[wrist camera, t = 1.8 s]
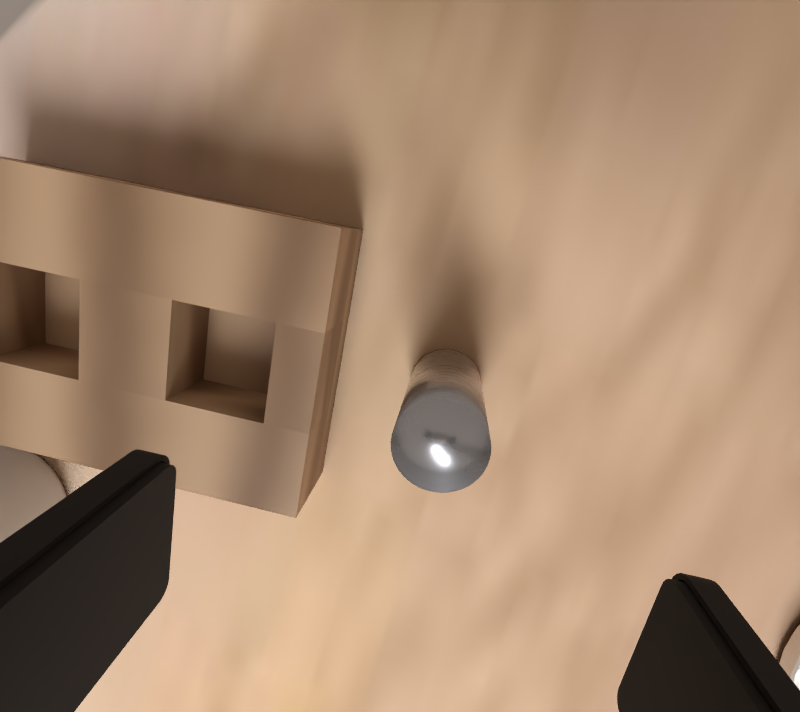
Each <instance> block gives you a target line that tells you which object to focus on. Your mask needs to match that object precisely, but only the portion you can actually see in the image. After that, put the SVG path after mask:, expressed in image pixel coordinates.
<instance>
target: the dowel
mask: <svg viewBox="0 0 800 712" xmlns="http://www.w3.org/2000/svg"><path fill="white" fill-rule="evenodd" d="M391 452H392V456H393V460H394V462H395V464H396V466H397V468H398V470H399V471H400V472H401V474H402V475H403V476H404V477H405V478H406V479H407V480H408V481H410V482H411V483H412V484H414V485H416V486H418V487H420V488H422V489H425V490H428V491H432V492H440V493H445V492H453V491H457V490H461V489H463V488H465V487H467V486H469V485H471V484H472V483H474V482H475V481H476V480H477V479H478V478H479V477H480V476H481V475H482V473H483V472H484V471H485V469H486V467H487V465H488V462H489V460H490V455H491V440H490V434H489V428H488V422H487V416H486V410H485V404H484V398H483V392H482V386H481V380H480V375H479V372H478V369H477V367H476V365H475V364H474V363H473V361H472V360H471V359H470V358H468V357H467V356H466V355H464V354H462V353H460V352H458V351H455V350H449V349H442V350H436V351H433V352H431V353H429V354H427V355H425V356H424V357H423V358H422V359H421V360H420V361H419V362H418V363H417V365H416V366H415V368H414V370H413V373H412V376H411V379H410V382H409V385H408V388H407V391H406V394H405V397H404V400H403V403H402V406H401V409H400V412H399V415H398V418H397V421H396V424H395V427H394V430H393V433H392V438H391Z"/></svg>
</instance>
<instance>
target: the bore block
mask: <svg viewBox="0 0 800 712" xmlns="http://www.w3.org/2000/svg"><path fill="white" fill-rule="evenodd" d="M362 233H363V230H361V229H356V228H351V227H346V226H341V225H336V224H331V223H327V222H322V221H317V220H312V219H307V218H302V217H297V216H292V215H287V214H282V213H278V212H273V211H268V210H263V209H258V208H253V207H248V206H243V205H238V204H233V203H229V202H224V201H219V200H214V199H209V198H204V197H199V196H194V195H189V194H184V193H180V192H175V191H170V190H165V189H160V188H155V187H150V186H145V185H140V184H136V183H131V182H126V181H121V180H116V179H111V178H106V177H101V176H96V175H91V174H87V173H82V172H77V171H72V170H67V169H62V168H57V167H52V166H47V165H42V164H38V163H33V162H28V161H23V160H17V159H11V158H6V157H0V445H3V446H7V447H11V448H15V449H19V450H23V451H27V452H31V453H35V454H39V455H43V456H47V457H52V458H56V459H60V460H64V461H68V462H72V463H76V464H80V465H84V466H88V467H92V468H96V469H100V470H105V469H107V468H108V467H110V466H111V465H113V464H114V463H115V462H117V461H118V460H120V459H121V458H123V457H124V456H126V455H127V454H128V453H130V452H131V451H133V450H135V449H139V450H144V451H148V452H153V453H157V454H161V455H166V456H167V457H168V458H169V461H170V465H174V466H175V468H176V486H175V488H177V489H181V490H185V491H189V492H193V493H197V494H201V495H205V496H209V497H213V498H217V499H221V500H225V501H230V502H234V503H238V504H242V505H246V506H250V507H254V508H258V509H262V510H266V511H270V512H274V513H278V514H282V515H286V516H290V517H294V518H296V517H297V515H298V514H299V512H300V510H301V508H302V507H303V505H304V503H305V501H306V500H307V498H308V496H309V494H310V493H311V491H312V489H313V488H314V486H315V484H316V482H317V481H318V479H319V477H320V475H321V474H322V471H323V465H324V459H325V453H326V447H327V441H328V435H329V429H330V423H331V417H332V411H333V405H334V400H335V394H336V388H337V382H338V376H339V370H340V364H341V358H342V352H343V346H344V340H345V334H346V328H347V322H348V316H349V311H350V305H351V299H352V293H353V287H354V281H355V275H356V269H357V263H358V257H359V251H360V245H361V239H362Z"/></svg>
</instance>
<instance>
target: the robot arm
mask: <svg viewBox="0 0 800 712" xmlns="http://www.w3.org/2000/svg"><path fill="white" fill-rule="evenodd" d="M175 486H176V468H175V466H174V465H170V461H169V458H168V457H167V456H166V455H161V454H157V453H153V452H148V451H144V450H139V449H135V450H133V451H131V452H130V453H128V454H127V455H126V456H124V457H123V458H121V459H120V460H118V461H117V462H115V463H114V464H113V465H111V466H110V467H108V468H107V469H105V470H104V471H103V472H101V473H100V474H98V475H97V476H95V477H94V478H92V479H91V480H90V481H88V482H87V483H85V484H84V485H82V486H81V487H80V488H78V489H77V490H75V491H74V492H72V493H71V494H70V495H68V496H67V497H65V498H64V499H62V500H61V501H59V502H58V503H57V504H55V505H54V506H52V507H51V508H49V509H48V510H47V511H45V512H44V513H42V514H41V515H39V516H38V517H36V518H35V519H34V520H32V521H31V522H29V523H28V524H26V525H25V526H24V527H22V528H21V529H19V530H18V531H16V532H15V533H13V534H12V535H11V536H9V537H8V538H6V539H5V540H3V541H2V542H1V543H0V712H74V711H75V710H76V709H77V707H78V706H79V705H80V703H81V702H82V701H83V700H84V698H85V697H86V696H87V694H88V693H89V692H90V691H91V689H92V688H93V687H94V685H95V684H96V683H97V682H98V680H99V679H100V678H101V676H102V675H103V674H104V673H105V671H106V670H107V669H108V667H109V666H110V665H111V664H112V662H113V661H114V660H115V658H116V657H117V656H118V655H119V653H120V652H121V651H122V649H123V648H124V647H125V646H126V644H127V643H128V642H129V640H130V639H131V638H132V637H133V635H134V634H135V633H136V631H137V630H138V629H139V628H140V626H141V625H142V624H143V622H144V621H145V620H146V618H147V617H148V616H149V615H150V613H151V612H152V611H153V609H154V608H155V607H156V606H157V604H158V603H159V602H160V600H161V599H162V597H163V595H164V593H165V591H166V588H167V585H168V581H169V569H170V555H171V541H172V528H173V514H174V500H175ZM617 701H618V709H619V712H800V625H799V626H798V627H797V628H796V629H795V631H794V633H793V634H792V636H791V638H790V639H789V641H788V643H787V645H786V646H785V648H784V650H783V653H782V657H781V660H780V663H778V661H777V660H776V659H775V658H774V656H773V655H772V654H771V652H770V651H769V650H768V648H767V647H766V646H765V645H764V643H763V642H762V641H761V639H760V638H759V637H758V635H757V634H756V633H755V632H754V630H753V629H752V628H751V626H750V625H749V624H748V622H747V621H746V620H745V619H744V617H743V616H742V615H741V613H740V612H739V611H738V609H737V608H736V607H735V606H734V604H733V603H732V602H731V600H730V599H729V598H728V596H727V595H726V594H725V593H724V591H723V590H722V589H721V587H720V586H719V585H718V584H717V583H716V582H714V581H712V580H709V579H705V578H700V577H696V576H691V575H687V574H683V573H679V574H676V575H675V576H673V578H672V579H666V580H665V581H664V582H663V584H662V586H661V588H660V590H659V593H658V595H657V597H656V600H655V602H654V605H653V607H652V609H651V612H650V614H649V617H648V619H647V621H646V624H645V626H644V629H643V631H642V633H641V636H640V638H639V641H638V643H637V645H636V648H635V650H634V653H633V655H632V657H631V660H630V662H629V664H628V667H627V669H626V672H625V674H624V676H623V679H622V681H621V684H620V686H619V689H618V696H617Z"/></svg>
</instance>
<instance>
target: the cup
mask: <svg viewBox="0 0 800 712" xmlns="http://www.w3.org/2000/svg"><path fill="white" fill-rule="evenodd" d="M65 497H67V495H66V492H65V490H64V487H63V485H62V482H61V481H60V479H59V478H58V476H57V475H56V473H55V472H54V470H53V469H52V468H51V467H50V466H49V465H48V464H47V463H46V462H45V461H44V460H43V459H42V458H41V457H39V456H38V455H36V454H35V453H31V452H27V451H23V450H19V449H15V448H11V447H7V446H3V445H0V543H1V542H2V541H3V540H5V539H6V538H8V537H9V536H11V535H12V534H13V533H15V532H16V531H18V530H19V529H21V528H22V527H24V526H25V525H26V524H28V523H29V522H31V521H32V520H34V519H35V518H36V517H38V516H39V515H41V514H42V513H44V512H45V511H47V510H48V509H49V508H51V507H52V506H54V505H55V504H57V503H58V502H59V501H61V500H62V499H64V498H65Z"/></svg>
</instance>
